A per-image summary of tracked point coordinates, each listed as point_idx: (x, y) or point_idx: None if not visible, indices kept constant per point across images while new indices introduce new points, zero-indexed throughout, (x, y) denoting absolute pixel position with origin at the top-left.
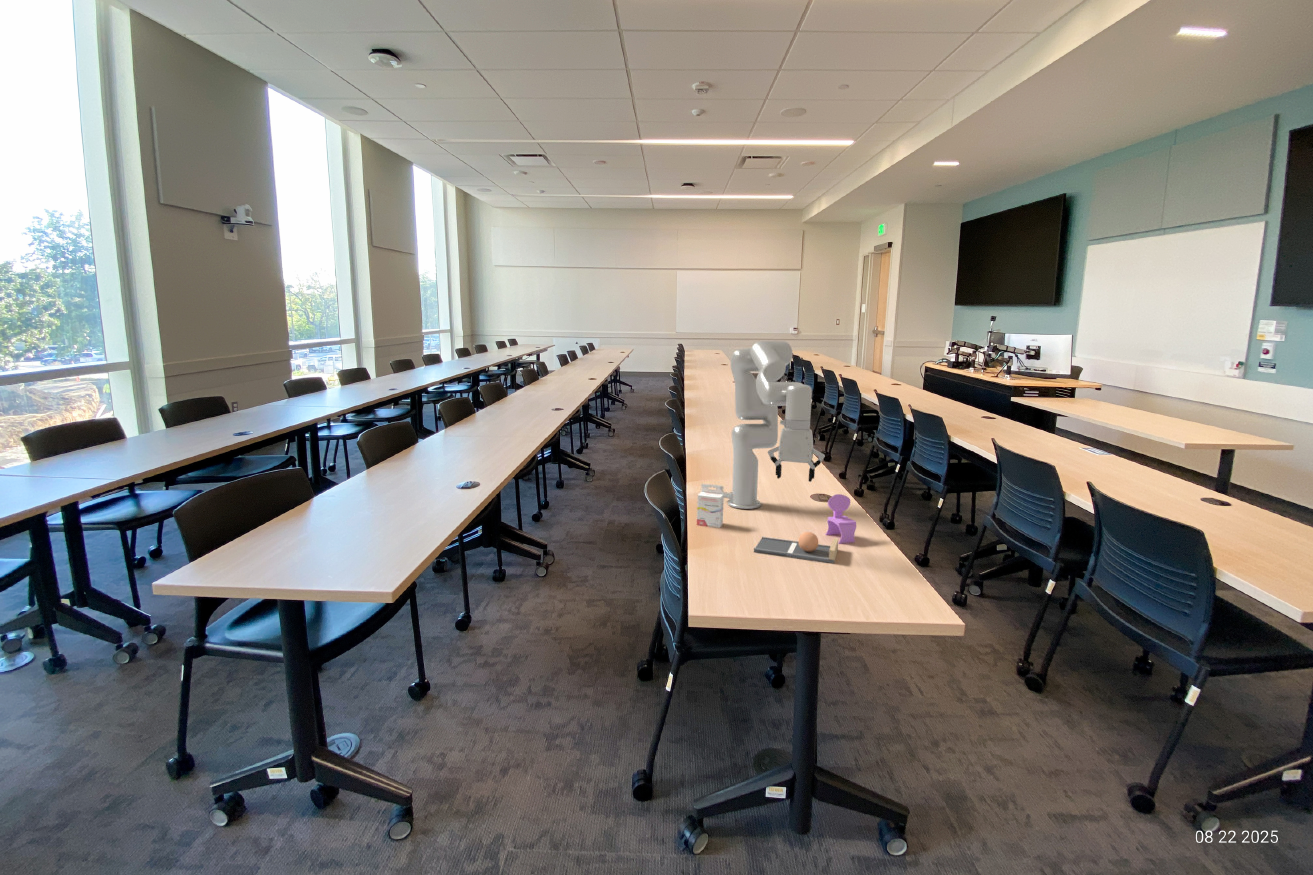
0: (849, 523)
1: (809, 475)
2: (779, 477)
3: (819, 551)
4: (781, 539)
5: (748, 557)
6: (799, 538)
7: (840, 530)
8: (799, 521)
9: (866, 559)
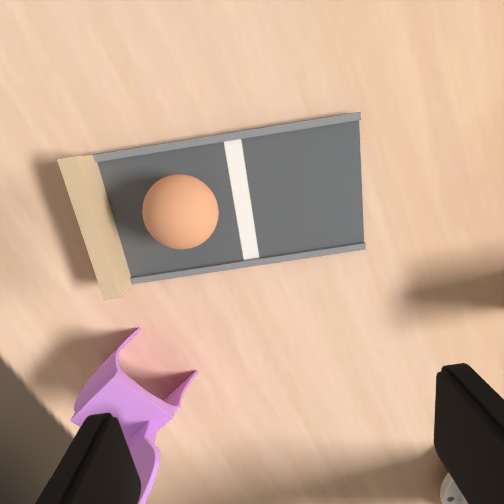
0: (89, 399)
1: (71, 475)
2: (443, 374)
3: None
4: (298, 257)
5: (358, 44)
6: (208, 196)
7: (116, 357)
8: (302, 450)
9: (18, 252)
